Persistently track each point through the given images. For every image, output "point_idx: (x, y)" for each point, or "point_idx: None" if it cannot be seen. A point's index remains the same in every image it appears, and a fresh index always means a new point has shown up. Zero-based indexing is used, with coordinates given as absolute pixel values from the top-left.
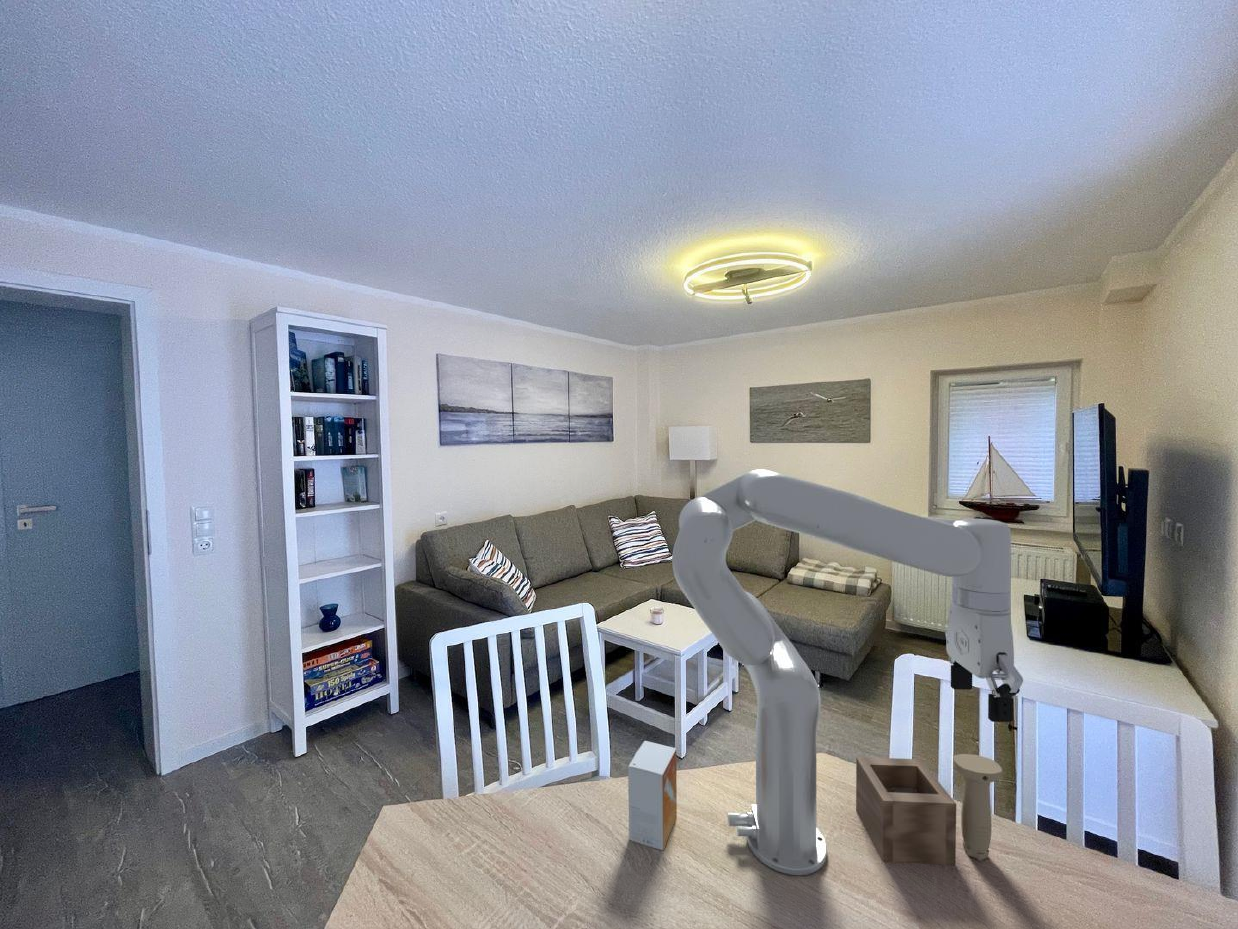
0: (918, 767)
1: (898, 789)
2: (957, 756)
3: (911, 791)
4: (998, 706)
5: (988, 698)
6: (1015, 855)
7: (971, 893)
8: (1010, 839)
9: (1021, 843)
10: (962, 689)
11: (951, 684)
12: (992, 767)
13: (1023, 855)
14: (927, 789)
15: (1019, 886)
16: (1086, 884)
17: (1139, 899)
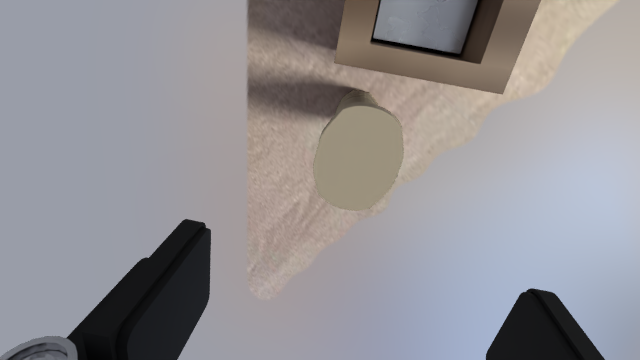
0: (474, 64)
1: (469, 3)
2: (396, 134)
3: (454, 34)
4: (107, 300)
5: (133, 307)
6: None
7: (289, 36)
8: None
9: None
10: (508, 324)
11: (554, 303)
12: (336, 186)
13: None
14: (421, 52)
15: (296, 121)
16: (293, 206)
17: (271, 241)
